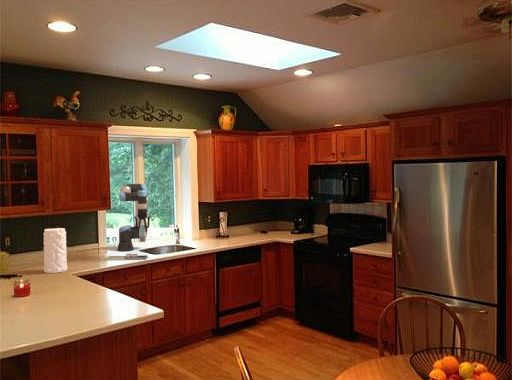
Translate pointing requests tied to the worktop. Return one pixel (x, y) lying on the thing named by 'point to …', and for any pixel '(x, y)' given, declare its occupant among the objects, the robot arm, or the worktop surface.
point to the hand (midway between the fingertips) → (142, 236)
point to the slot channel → (140, 257)
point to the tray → (115, 258)
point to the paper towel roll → (55, 250)
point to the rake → (142, 233)
